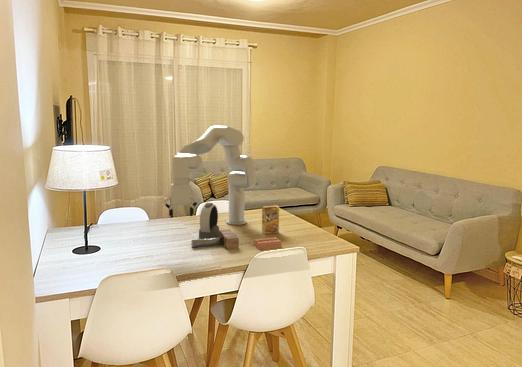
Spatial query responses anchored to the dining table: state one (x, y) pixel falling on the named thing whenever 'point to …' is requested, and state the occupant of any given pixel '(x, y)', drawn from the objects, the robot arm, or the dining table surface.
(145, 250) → the dining table surface
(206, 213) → the alarm clock
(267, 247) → the v block
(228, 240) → the beam
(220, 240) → the axle
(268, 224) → the candy box
